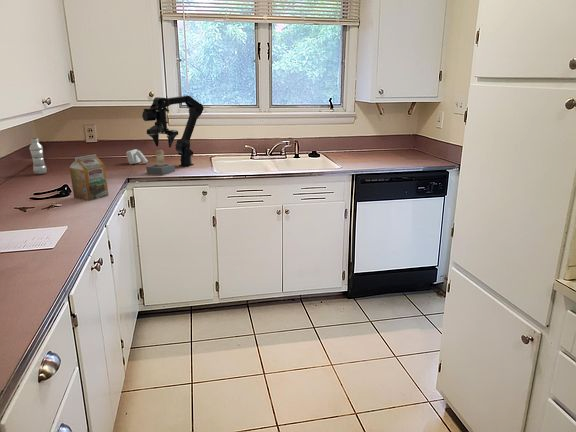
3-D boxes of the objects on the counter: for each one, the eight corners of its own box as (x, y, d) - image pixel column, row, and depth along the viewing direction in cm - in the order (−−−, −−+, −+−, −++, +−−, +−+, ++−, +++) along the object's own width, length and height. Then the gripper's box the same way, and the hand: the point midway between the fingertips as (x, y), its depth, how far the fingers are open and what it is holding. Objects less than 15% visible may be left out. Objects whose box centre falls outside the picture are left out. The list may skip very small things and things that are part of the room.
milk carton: (88, 201, 200) (82, 158, 195) (74, 197, 206) (67, 156, 200) (108, 195, 209) (103, 155, 203) (94, 192, 214) (88, 153, 208)
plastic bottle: (50, 173, 254) (44, 137, 248) (39, 175, 248) (33, 139, 242) (42, 172, 257) (36, 137, 251) (31, 174, 251) (25, 138, 245)
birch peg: (158, 171, 259) (156, 150, 255) (165, 171, 259) (164, 150, 255) (156, 173, 255) (154, 151, 251) (163, 173, 255) (162, 151, 251)
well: (159, 169, 264) (158, 163, 263) (174, 171, 260) (174, 164, 259) (146, 173, 254) (146, 166, 253) (162, 175, 250) (162, 168, 249)
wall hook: (145, 164, 276) (140, 148, 274) (130, 167, 279) (125, 152, 276) (151, 162, 284) (146, 146, 281) (137, 165, 286) (132, 149, 284)
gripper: (138, 120, 254) (141, 148, 259) (165, 122, 247) (167, 150, 252) (151, 118, 264) (154, 145, 269) (177, 120, 257) (179, 147, 262)
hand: (163, 147), depth 262 cm, fingers open, 9 cm apart
